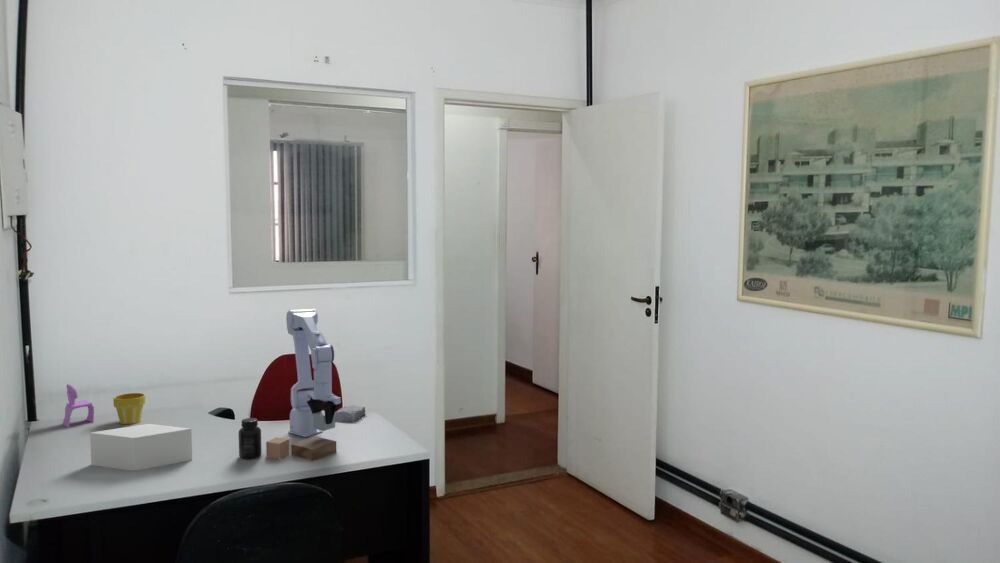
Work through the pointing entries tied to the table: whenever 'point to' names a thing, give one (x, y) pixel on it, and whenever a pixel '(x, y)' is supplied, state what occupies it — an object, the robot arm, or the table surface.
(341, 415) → the stone block
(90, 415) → the toy chair
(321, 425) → the blue-grey cube
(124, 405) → the plant pot
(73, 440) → the table surface
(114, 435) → the white foam block
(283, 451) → the terracotta cube
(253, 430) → the supplement bottle
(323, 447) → the walnut slab
